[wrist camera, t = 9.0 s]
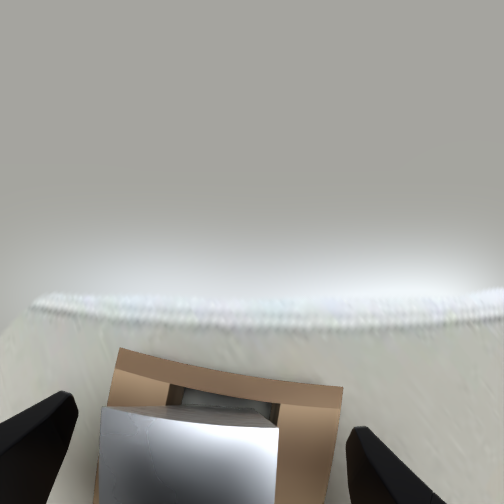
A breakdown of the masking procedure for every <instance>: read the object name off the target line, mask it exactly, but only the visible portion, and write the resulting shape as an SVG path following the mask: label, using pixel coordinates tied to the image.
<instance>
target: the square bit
mask: <svg viewBox="0 0 504 504" xmlns="http://www.w3.org/2000/svg"><path fill="white" fill-rule="evenodd" d="M278 434H279V428H278V427H277V426H275V425H274V424H273V423H271V422H270V421H269V420H267V419H266V418H265V417H264V416H262V415H261V414H260V413H258V412H257V411H256V410H255V409H248V408H231V407H218V406H207V405H197V404H184V405H168V406H140V407H105V406H102V411H101V425H100V444H99V504H274V500H275V485H276V470H277V453H278Z"/></svg>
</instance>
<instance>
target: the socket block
mask: <svg viewBox="0 0 504 504" xmlns="http://www.w3.org/2000/svg"><path fill="white" fill-rule="evenodd" d="M184 387H187V388H191V389H196V390H201V391H205V392H210V393H215V394H221V395H226V396H232V397H238V398H244V399H250V400H257V401H264V402H271V403H272V407H271V413H270V419H269V421H270V422H271V423H273V424H274V425H275V426H277V427H278V428H279V434H278V453H277V470H276V485H275V500H274V504H324V500H325V495H326V491H327V486H328V481H329V476H330V471H331V466H332V460H333V455H334V449H335V443H336V437H337V431H338V424H339V417H340V410H341V402H342V394H343V387H337V386H325V385H314V384H305V383H296V382H287V381H279V380H272V379H265V378H258V377H251V376H245V375H239V374H233V373H228V372H222V371H217V370H212V369H207V368H202V367H197V366H192V365H188V364H183V363H179V362H174V361H170V360H166V359H162V358H158V357H154V356H150V355H146V354H142V353H138V352H135V351H131V350H127V349H124V348H119V352H118V357H117V361H116V365H115V370H114V374H113V379H112V383H111V388H110V393H109V398H108V403H107V407H140V406H168V405H181V403H182V398H183V393H184ZM93 504H99V456H98V463H97V471H96V480H95V489H94V499H93Z"/></svg>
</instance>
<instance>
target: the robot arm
mask: <svg viewBox="0 0 504 504" xmlns="http://www.w3.org/2000/svg"><path fill="white" fill-rule="evenodd" d="M77 418H78V408H77V405H76V403H75V400H74V397H73V395H72V394H71V393H68V392H65V391H59V392H57V393H55V394H53V395H52V396H50V397H48V398H46V399H44V400H43V401H41V402H39V403H37V404H35V405H33V406H32V407H30V408H28V409H26V410H24V411H22V412H21V413H19V414H17V415H15V416H13V417H11V418H10V419H8V420H6V421H4V422H2V423H0V504H46V502H47V500H48V497H49V494H50V492H51V489H52V487H53V484H54V482H55V479H56V477H57V474H58V472H59V469H60V467H61V465H62V462H63V460H64V458H65V455H66V453H67V450H68V447H69V444H70V440H71V437H72V434H73V431H74V427H75V424H76V421H77ZM346 460H347V475H348V488H349V494H350V499H351V504H447V503H445V502H444V501H443V500H442V499H441V498H440V497H439V496H438V495H437V494H435V493H433V491H432V490H431V489H430V488H429V487H428V486H427V485H426V484H425V483H424V482H423V481H422V480H421V479H420V478H419V477H417V476H416V475H415V474H414V473H413V472H412V471H411V470H410V469H409V468H408V467H407V466H406V465H405V464H404V463H403V462H402V461H401V460H400V459H399V458H398V457H397V456H396V455H395V454H394V453H393V452H392V451H391V450H390V449H389V448H388V447H387V446H386V445H385V444H384V443H383V442H382V441H381V440H380V439H379V438H378V437H377V436H376V435H375V434H374V433H373V432H372V431H371V430H370V429H369V428H368V427H366V426H358V427H354V428H353V429H352V431H351V433H350V436H349V438H348V440H347V442H346Z"/></svg>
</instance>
